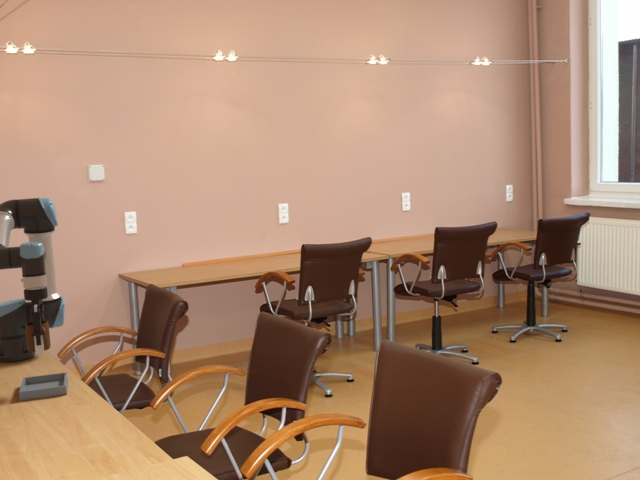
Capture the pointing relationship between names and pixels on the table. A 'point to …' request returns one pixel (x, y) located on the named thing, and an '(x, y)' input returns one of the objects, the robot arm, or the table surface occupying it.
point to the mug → (31, 338)
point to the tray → (43, 386)
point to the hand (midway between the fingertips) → (41, 349)
